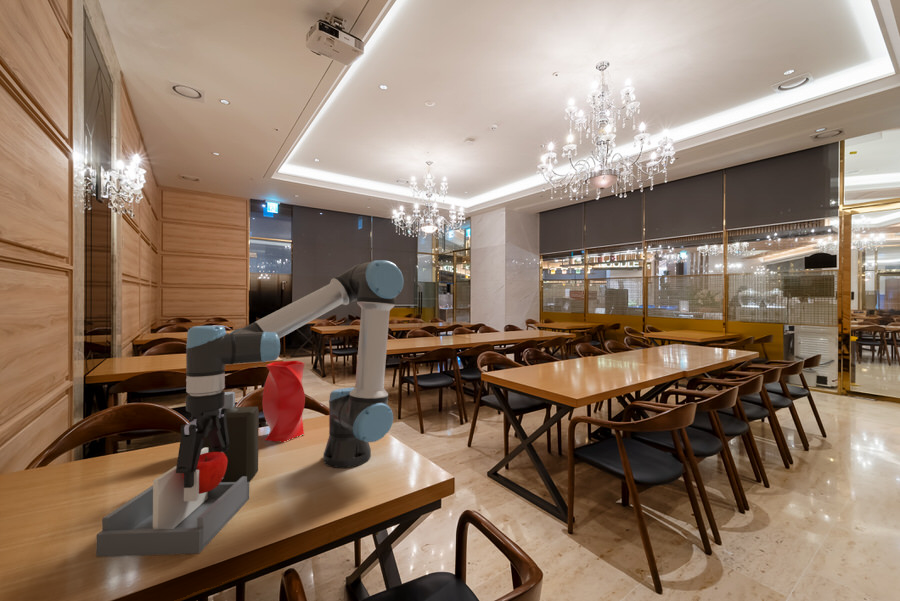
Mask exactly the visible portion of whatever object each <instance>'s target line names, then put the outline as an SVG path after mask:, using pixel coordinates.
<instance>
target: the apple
mask: <svg viewBox="0 0 900 601" xmlns="http://www.w3.org/2000/svg"><path fill="white" fill-rule="evenodd" d="M227 462H228V460H227V457H226V455H225V453H222V452H208V453H204V454H201V455H200V457H199V461H198V465H197V469H196V470H199V494H201V493H205V492H208V491H210V490H212V489H214V488H216V487H217V486H218V485H219V483H220V482H221V480H222V478H223V477H224V475H225V472H226V468H227ZM182 475H183V479H184V474H183V473H182Z"/></svg>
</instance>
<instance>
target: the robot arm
mask: <svg viewBox="0 0 900 601" xmlns="http://www.w3.org/2000/svg"><path fill="white" fill-rule="evenodd" d="M404 282H405V281H404V276H403V272H402V270H400V267H398V266H397V265H396V264H395V263H394V262H392V261H389V260H379V259H376V260H373V261H368V262H362V263H358V264H356V265H354V266H353V267H351V268H349V269H347V270H346V271H344V272H343V273H341V274H339V275H337V276H336V277H333V278H331V280H330V282H329V284H327V285H324V286H322V287H321V288H319V289H317V290H315V291H313V292H311V293H308V294H307V295H305V296H303V297H301V298H299V299H297V300H295V301H293V302H291V303H289V304H287V305H286V306H283V307H281V308H280V309H278V310H275V311H274V312H272V313H270V314H267V315H266V316H264V317H262V318H259V319H257V320H256V321H254V322H252V323H250V324H248V325H245V326H244V327H241V328H237V329H234V330H233V331H231V332H230V333H228V332H227V330H226V328H225V326H223V325H196V326H192V327H190V328H189V329H188V330H187V335H186V346H185V349H186V350H185V354H186V358H185V361H186V362H185V363H186V364H185V365H186V366H185V368H186V369H185V370H186V373H185V374H186V375H185V376H186V379H185V382H186V388H185V389H186V391H185V392H186V393H187V395H186V396H185V411H186V412H188V413H190V416H191V418H190V421H189V423H188V424H187V423H186V424H181V426H180V442H179V448H178V455H177V462H176V465H177V466H176V465H175V466H176V473H183V474H184V501H197V500H198V499H199V470H196V469H197V465H198V461H199V457H200V454H201V450H202V446H203V442H204V439H206V438H207V436H208V438H209V441H210V444H211V447H212V450H213V451H215V452H222V453H223V451H227V450H228V445H229V436H228V428H227V420H226V413H227V409H226V408H222V407H223V406H224V404H225V392H226V391H224V389H226V384H225V383H226V378H225V374H226V373H225V371H226V366H227V365H228V366H230V365H236V364H238V365H239V364H250V363H252V364H253V363H266V362H271V361H273V362H274V361H276V360H277V359H278V358H279V356H280V353H281V342H280V339H281V338H283V337H285V336H286V335H289V334H290V333H292V332H294V331H295V330H297V329H299V328H302V327H303V326H305V325H307V324H309V323H310V322H312V321H314V320H317V318H319V317H321V316H322V315H325V314H326V313H328V312H331V311H332V310H334V309H336V308H337V307H339V306H341V305H344V306H347V305H349V304H351V303H354V302H356V303H357V305H358V306H359V307H360V308H361V310H360V311H361V312H360V322H359V324H360V326H359V336H358V346H357V348H358V350H357V359H356V360H357V361H356V369H355V370H356V373H355V383H354V384H355V386H354V387H353V386H352V387H345V388H344V387H343V388H337V389H334V390H332V391H331V392H330V394H329V400H328V404H329V408H328V409H329V411H328V413H329V414H328V415H329V417H328V418H329V420H328V421H329V423H328V426H329V431H328V432H329V433H328V439H327V441H326V446H325V448H324V451H323V454H322V455H323V463H324V464H325V465H326V466H329V467H332V468H336V469H337V468H339V469H344V468H353V467H356V466H359V465H362V464H364V463H366V462H368V461H369V460H370V459H371V456H372V454H371V453H372V448H371V446H370V443H375V442H377V441H379V440H381V439H383V438H384V437H385V435H387V434H388V433H389V431H390V430H391V428H392V426H393V423H394V414H393V411H392V409H391V407H390V406H389V404H388V403H389V402H388V400H389V393H388V391H386V389H385V374H386V360H387V352H388V351H387V348H388V340H389V339H388V336H389V324H390V313H391V312H390V311H391V310H392V309H393V308H394V307H395V306H396V298H397V296H398V295H399V294H400V293H401V292H402V290H403V288H404ZM196 434H202V435H196ZM223 440H224V441H223ZM222 479H223V478H222Z"/></svg>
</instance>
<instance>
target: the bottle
mask: <svg viewBox="0 0 900 601" xmlns="http://www.w3.org/2000/svg"><path fill="white" fill-rule="evenodd" d="M224 392H225V404H224V406H223V407H222V408H226V409H227V413H226V420H227V428H228V436H229V445H228V450H227V451H223V453H225V455H226V457H227V460H228V462H227V468H226V472H225V475H224V477H223V479H222V480H221V482H237V481H238V480H239V479H240V478H241V477H242V476H247V482H249V483H251V481H252V480H253V478H254V477H255V476H256V474H257V473H258V472H259V424H260V423H259V419H260V418H259V417H260V416H259V415H260V413H259V412H260V411H259V407H258V406H239V407H238V406H236V392H234V391H224ZM196 435H202V434H196ZM223 441H224V440H223ZM203 448H208V452H215V451H213V450H212V447H211V444H210V441H209V438H208V436H207V438H206V439H204V442H203V446H202V449H203Z"/></svg>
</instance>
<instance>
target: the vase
mask: <svg viewBox="0 0 900 601" xmlns="http://www.w3.org/2000/svg"><path fill="white" fill-rule="evenodd" d="M265 366H266V368H267V369H268V371H269V372H268V374H267V377H266V380H265V383H264V387H263V392H262V399H261V400H262V412H263V416H264V420H265V422H266V423H267V425H268V427H269V433H268V435H267V436H266V437H265V438H264V441H267V442H268V441H269V442H276V441H281V442H280V443H285V442H284V441H286V442H288V441H287V440H289V439H292V438H295V437H297V436H300V435H302V434H304V435H305V430H304V423H303V422H304V420H303V413H304V409H305V404H306V395H305V390H304V389H305V388H304V387H303V374H304V370H305V362H302V361H299V360H286V361H285V360H282V361H273V362H270V363H268V364H266V365H265ZM302 420H303V421H302ZM292 440H293V439H292ZM289 441H290V440H289Z"/></svg>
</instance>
